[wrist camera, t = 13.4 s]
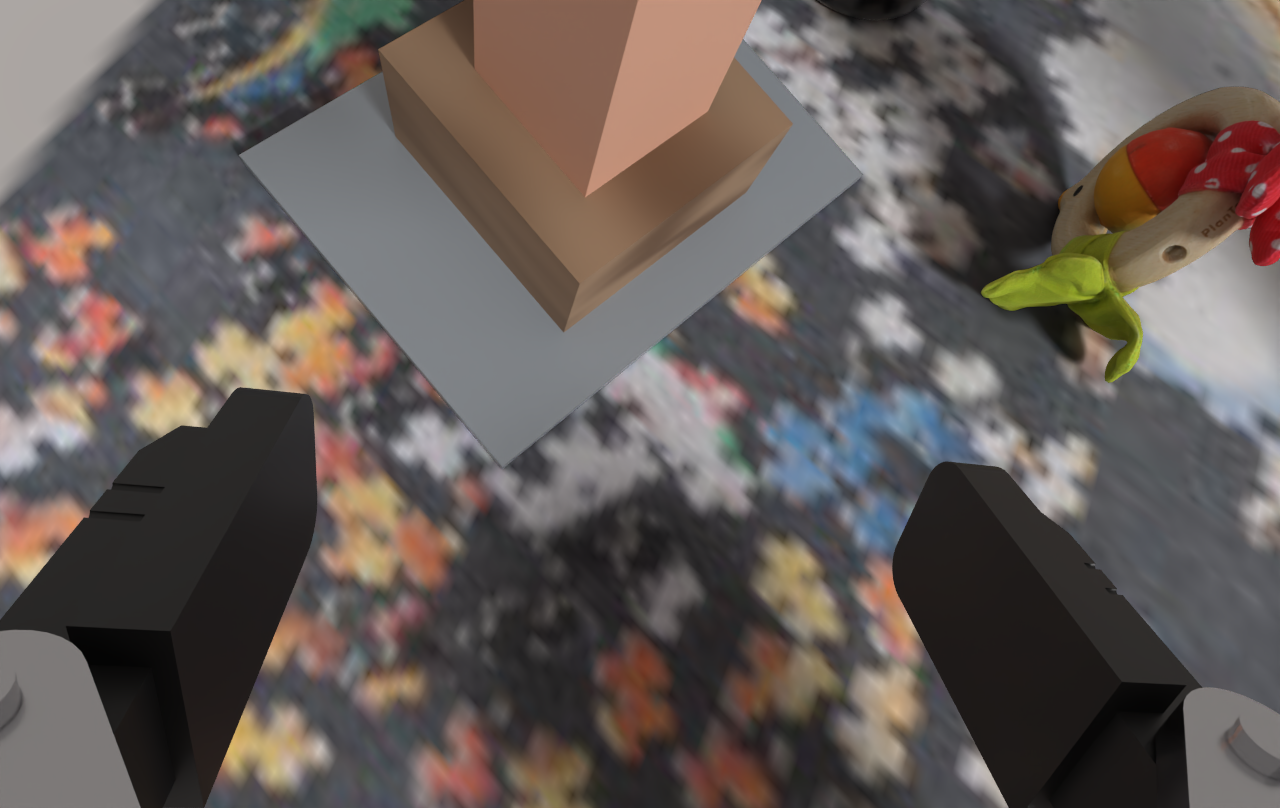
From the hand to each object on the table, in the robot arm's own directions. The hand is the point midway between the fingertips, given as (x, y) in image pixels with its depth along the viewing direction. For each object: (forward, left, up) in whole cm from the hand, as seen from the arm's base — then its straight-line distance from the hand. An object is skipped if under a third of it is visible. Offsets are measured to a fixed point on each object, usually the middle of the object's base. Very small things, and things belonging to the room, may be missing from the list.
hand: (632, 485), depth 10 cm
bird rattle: (-20, +5, -13) cm, 24 cm away
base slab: (-8, -8, -12) cm, 17 cm away
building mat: (-8, -8, -13) cm, 17 cm away
